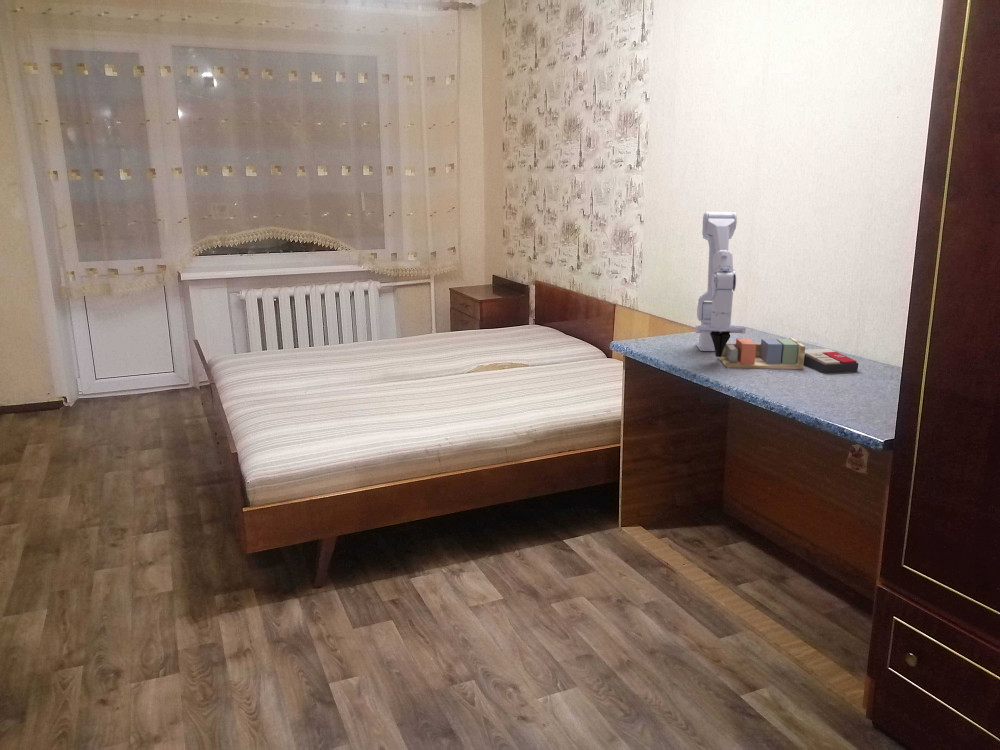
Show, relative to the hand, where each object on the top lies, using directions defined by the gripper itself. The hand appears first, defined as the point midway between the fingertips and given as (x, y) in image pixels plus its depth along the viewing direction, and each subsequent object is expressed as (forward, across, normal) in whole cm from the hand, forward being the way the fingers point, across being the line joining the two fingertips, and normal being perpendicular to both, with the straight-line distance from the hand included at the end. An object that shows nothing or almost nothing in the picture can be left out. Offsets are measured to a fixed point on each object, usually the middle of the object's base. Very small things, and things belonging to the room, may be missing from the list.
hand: (718, 356), depth 229 cm
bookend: (+1, +4, 0) cm, 4 cm away
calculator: (+3, +31, -2) cm, 31 cm away
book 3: (+1, +20, 0) cm, 20 cm away
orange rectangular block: (+1, +8, 0) cm, 8 cm away
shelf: (+2, +12, 0) cm, 13 cm away
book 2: (+1, +16, 0) cm, 16 cm away
